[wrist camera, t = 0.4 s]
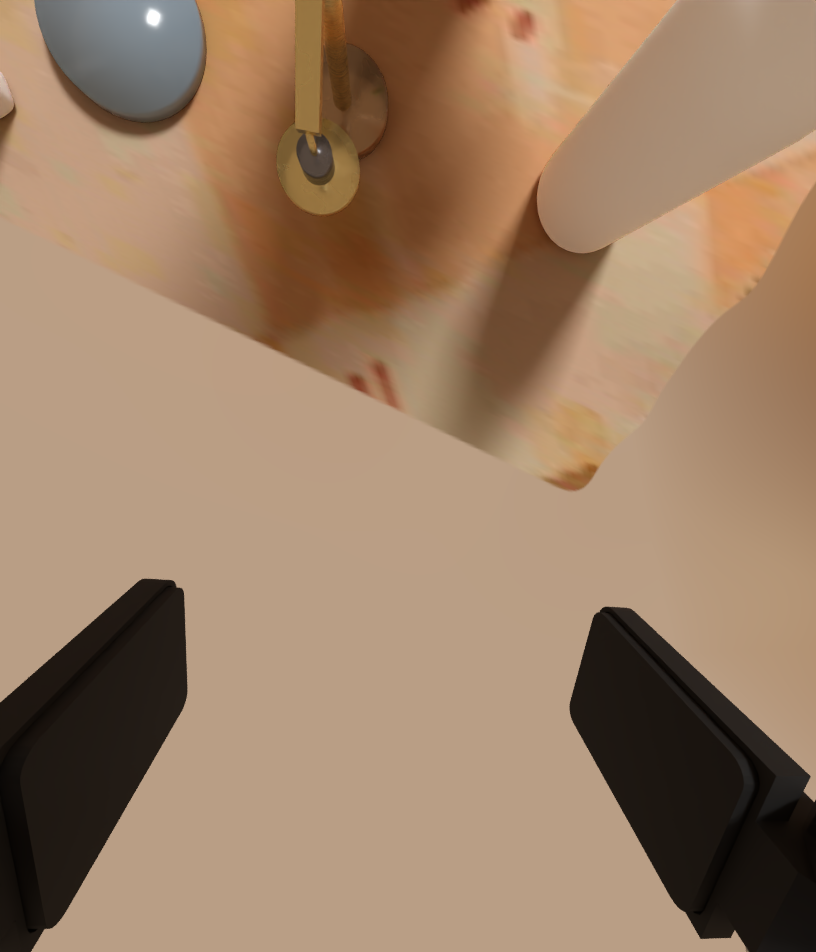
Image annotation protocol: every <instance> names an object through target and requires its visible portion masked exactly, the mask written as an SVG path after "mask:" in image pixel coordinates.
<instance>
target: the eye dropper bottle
mask: <svg viewBox="0 0 816 952" xmlns="http://www.w3.org/2000/svg"><path fill="white" fill-rule="evenodd" d="M13 107H14V101H13V97H12V95H11V92H10V89H9V87H8V84H7V82H6V79H5V77H4V76H3V74H2V73H1V72H0V119H1V118H2V117H4V116H6V115H7V114H8V113H10V112H11V111H12V110H13Z"/></svg>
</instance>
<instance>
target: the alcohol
mask: <svg viewBox="0 0 816 952" xmlns="http://www.w3.org/2000/svg"><path fill="white" fill-rule="evenodd" d="M814 130H816V0H677V1H676V2H675V3H674V4H673V6H672V7H671V8H670V9H669V11H668V12H667V13H666V14H665V16H664V17H663V18H662V19H661V21H660V22H659V23H658V24H657V26H656V27H655V28H654V29H653V31H652V32H651V33H650V34H649V35H648V37H647V38H646V39H645V40H644V42H643V43H642V44H641V45H640V47H639V48H638V49H637V50H636V52H635V53H634V54H633V55H632V57H631V58H630V59H629V60H628V62H627V63H626V64H625V65H624V67H623V68H622V69H621V70H620V71H619V73H618V74H617V75H616V76H615V78H614V79H613V80H612V81H611V83H610V84H609V85H608V86H607V88H606V89H605V90H604V91H603V93H602V94H601V95H600V96H599V98H598V99H597V100H596V101H595V102H594V104H593V105H592V106H591V107H590V109H589V110H588V111H587V112H586V114H585V115H584V116H583V117H582V119H581V120H580V121H579V122H578V124H577V125H576V126H575V127H574V129H573V130H572V131H571V132H570V134H569V135H568V136H567V137H566V138H565V140H564V141H563V142H562V143H561V145H560V146H559V147H558V148H557V150H556V151H555V152H554V153H553V155H552V156H551V158H550V159H549V161H548V162H547V164H546V165H545V167H544V170H543V172H542V174H541V177H540V181H539V185H538V191H537V208H538V214H539V218H540V221H541V224H542V226H543V228H544V230H545V232H546V233H547V235H548V236H549V237H550V239H551V240H552V241H553V242H555V243H556V244H557V245H558V246H559V247H561V248H563V249H565V250H567V251H571V252H574V253H589V252H595V251H597V250H599V249H602V248H604V247H606V246H608V245H610V244H611V243H613V242H615V241H617V240H619V239H621V238H622V237H624V236H626V235H628V234H630V233H631V232H633V231H635V230H637V229H639V228H641V227H642V226H644V225H646V224H648V223H650V222H652V221H653V220H655V219H657V218H659V217H661V216H663V215H664V214H666V213H668V212H670V211H672V210H674V209H675V208H677V207H679V206H681V205H683V204H684V203H686V202H688V201H690V200H692V199H694V198H695V197H697V196H699V195H701V194H703V193H705V192H706V191H708V190H710V189H712V188H714V187H716V186H717V185H719V184H721V183H723V182H725V181H726V180H728V179H730V178H732V177H734V176H736V175H737V174H739V173H741V172H743V171H745V170H747V169H748V168H750V167H752V166H754V165H756V164H758V163H759V162H761V161H763V160H765V159H767V158H768V157H770V156H772V155H774V154H776V153H778V152H779V151H781V150H783V149H785V148H787V147H789V146H790V145H792V144H794V143H796V142H798V141H799V140H801V139H802V138H804V137H805V136H807V135H808V134H810V133H811V132H813V131H814Z"/></svg>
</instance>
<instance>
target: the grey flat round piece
mask: <svg viewBox="0 0 816 952" xmlns="http://www.w3.org/2000/svg"><path fill="white" fill-rule="evenodd" d="M34 2H35V8H36V15H37V18H38V22H39V26H40V29H41V32H42V35H43V38H44V40H45V42H46V44H47V46H48V48H49V51H50V52H51V54H52V56H53V57H54V59H55V61H56V62H57V64H58V65H59V67H60V68H61V69H62V71H63V72H64V73H65V74H66V76H67V77H68V78H69V79H70V80H71V81H72V82H73V83H74V84H75V85H76V86H77V87H78V88H79V89H80V90H81V91H82V92H83V93H84V94H85V95H87V96H88V97H89V98H90V99H91V100H92V101H93V102H94V103H96V104H97V105H99V106H100V107H101V108H103V109H104V110H106V111H108V112H110V113H111V114H113V115H116V116H118V117H121V118H123V119H127V120H131V121H136V122H154V121H160V120H163V119H166V118H169V117H171V116H173V115H174V114H176V113H178V112H179V111H180V110H181V109H183V108H184V107H185V106H186V105H187V104H188V103H189V102H190V100H191V99H192V98H193V96H194V95H195V93H196V92H197V89H198V87H199V85H200V83H201V80H202V77H203V74H204V69H205V63H206V50H207V49H206V35H205V29H204V24H203V20H202V16H201V13H200V10H199V8H198V5H197V2H196V0H34Z"/></svg>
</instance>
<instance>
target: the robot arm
mask: <svg viewBox="0 0 816 952" xmlns="http://www.w3.org/2000/svg"><path fill="white" fill-rule="evenodd" d="M186 697H187V664H186V637H185V608H184V592H183V590H182V588H176V584H175V582H174V581H172V580H159V579H142V580H140V581H138V582H137V583H136V584H135V585H134V586H133V587H132V588H130V589H129V590H128V591H127V592H126V593H125V594H124V595H122V596H121V597H120V598H119V599H118V600H117V601H116V602H115V603H114V604H112V605H111V606H110V607H109V608H108V609H106V610H105V611H104V612H103V613H102V614H101V615H100V616H99V617H97V618H96V619H95V620H94V621H93V622H92V623H91V624H89V625H88V626H87V627H86V628H85V629H84V630H83V631H81V632H80V633H79V634H78V635H77V636H76V637H75V638H73V639H72V640H71V641H70V642H69V643H68V644H67V645H65V646H64V647H63V648H62V649H61V650H60V651H59V652H57V653H56V654H55V655H54V656H53V657H52V658H51V659H49V660H48V661H47V662H46V663H45V664H44V665H43V666H41V667H40V668H39V669H38V670H37V671H36V672H35V673H33V674H32V675H31V676H30V677H29V678H28V679H27V680H26V681H24V683H22V684H21V685H20V686H19V687H18V688H16V689H15V690H14V691H13V692H12V693H11V694H10V695H8V696H7V697H6V698H5V699H4V700H3V701H2V702H0V952H31V951H32V949H33V947H34V946H35V944H36V942H37V941H38V939H39V937H40V935H41V934H42V932H43V930H44V929H50V928H53V927H54V926H55V925H56V924H57V923H58V922H59V921H60V919H61V918H62V917H63V915H64V914H65V912H66V910H67V909H68V907H69V905H70V903H71V902H72V900H73V898H74V897H75V895H76V893H77V892H78V890H79V888H80V886H81V885H82V883H83V881H84V879H85V878H86V876H87V874H88V872H89V870H90V869H91V867H92V865H93V864H94V862H95V860H96V859H97V857H98V855H99V853H100V852H101V850H102V848H103V846H104V845H105V843H106V841H107V840H108V838H109V836H110V834H111V833H112V831H113V829H114V827H115V826H116V824H117V822H118V820H119V819H120V817H121V815H122V813H123V812H124V810H125V808H126V807H127V805H128V803H129V801H130V800H131V798H132V796H133V794H134V793H135V791H136V789H137V788H138V786H139V784H140V782H141V781H142V779H143V777H144V775H145V774H146V772H147V770H148V769H149V767H150V765H151V763H152V762H153V760H154V758H155V756H156V755H157V753H158V751H159V749H160V748H161V746H162V744H163V742H164V741H165V739H166V737H167V736H168V734H169V732H170V730H171V728H172V727H173V725H174V723H175V722H176V720H177V718H178V717H179V715H180V713H181V711H182V709H183V707H184V704H185V701H186ZM570 714H571V718H572V721H573V723H574V725H575V726H576V728H577V730H578V732H579V734H580V735H581V737H582V739H583V741H584V743H585V744H586V746H587V748H588V750H589V752H590V753H591V755H592V757H593V759H594V760H595V762H596V764H597V766H598V768H599V769H600V771H601V773H602V775H603V777H604V779H605V780H606V782H607V784H608V786H609V788H610V789H611V791H612V793H613V795H614V796H615V798H616V800H617V802H618V804H619V805H620V807H621V809H622V811H623V813H624V814H625V816H626V818H627V820H628V822H629V823H630V825H631V827H632V829H633V830H634V832H635V834H636V836H637V838H638V840H639V841H640V843H641V845H642V847H643V848H644V850H645V852H646V854H647V856H648V858H649V859H650V861H651V862H652V865H653V866H654V868H655V870H656V872H657V874H658V876H659V877H660V879H661V881H662V883H663V884H664V886H665V888H666V890H667V892H668V893H669V895H670V897H671V898H672V900H673V902H674V903H675V904H676V905H677V907H678V908H679V909H681V910H682V911H684V912H686V914H687V916H688V918H689V919H690V921H691V923H692V924H693V926H694V928H695V930H696V931H697V933H698V935H699V937H700V938H701V939H709V938H731V936H732V934H733V932H734V930H735V931H736V932H737V933H738V935H739V937H740V938H741V940H742V942H743V943H744V945H745V946H746V952H816V800H815V802H813V801H812V800H811V799H810V798H809V797H808V796H807V795H806V794H805V793H804V792H803V791H804V789H805V787H806V785H807V783H808V781H809V779H810V775H809V774H808V773H806V772H805V771H804V770H803V769H802V768H801V767H800V766H799V765H798V764H797V763H796V762H795V761H794V760H792V758H790V757H789V756H788V755H787V754H786V753H785V752H784V751H783V750H782V749H781V748H780V747H779V746H778V745H777V744H776V743H774V742H773V741H772V740H771V739H770V738H769V737H768V736H767V735H766V734H765V733H764V732H763V731H762V730H761V729H759V728H758V727H757V726H756V725H755V724H754V723H753V722H752V721H751V720H750V719H749V718H748V717H747V716H746V715H745V714H743V713H742V712H741V711H740V710H739V709H738V708H737V707H736V706H735V705H734V704H733V703H732V702H730V701H729V700H728V699H727V698H726V697H725V696H724V695H723V694H722V693H721V692H720V691H719V690H718V689H717V688H715V686H714V685H712V684H711V683H710V682H709V681H708V680H707V679H706V678H705V677H704V676H703V675H702V674H701V673H700V672H698V671H697V670H696V669H695V668H694V667H693V666H692V665H691V664H690V663H689V662H688V661H687V660H686V659H685V658H684V657H682V656H681V655H680V654H679V653H678V652H677V651H676V650H675V649H674V648H673V647H672V646H671V645H670V644H668V642H666V641H665V640H664V639H663V638H662V637H661V636H660V635H659V634H658V633H657V632H656V631H655V630H654V629H653V628H652V627H650V626H649V625H648V624H647V623H646V622H645V621H644V620H643V619H642V618H641V617H640V616H639V615H638V614H637V613H635V612H634V611H633V610H632V609H629V608H620V607H604V608H602V609H601V610H600V612H598V613H596V614H595V615H594V617H593V621H592V624H591V627H590V631H589V635H588V639H587V642H586V646H585V650H584V653H583V657H582V660H581V665H580V668H579V671H578V675H577V679H576V683H575V686H574V690H573V694H572V697H571V701H570Z"/></svg>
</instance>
